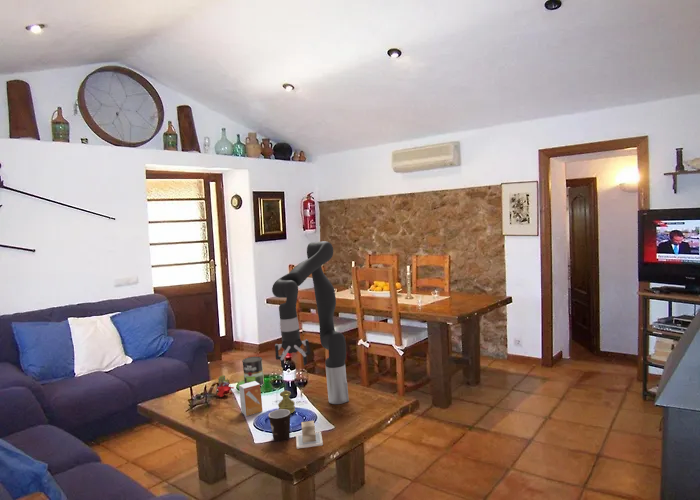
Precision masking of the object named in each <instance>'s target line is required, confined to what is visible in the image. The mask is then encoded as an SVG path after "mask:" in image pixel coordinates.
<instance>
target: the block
mask: <svg viewBox="0 0 700 500" xmlns="http://www.w3.org/2000/svg"><path fill="white" fill-rule="evenodd" d="M300 423H301V432H302V434H301V435H302V436H303V443H304V442H311V441H316V435H315V433H316V427H315V426H316V425H315V420H308V421H302V422H300Z"/></svg>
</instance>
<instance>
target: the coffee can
mask: <svg viewBox="0 0 700 500" xmlns="http://www.w3.org/2000/svg"><path fill="white" fill-rule="evenodd" d="M242 371H243V378H244V379H243V381H244V384H245V383H249V382H253V381H256V382H257V383H259V384H260V386H261V387H263V386H264V385H265V381H264V379H265V378H264V369H263V358H262V357H261V356H250V357H246V358H243V359H242ZM263 384H264V385H263ZM262 385H263V386H262Z"/></svg>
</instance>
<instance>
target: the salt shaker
mask: <svg viewBox="0 0 700 500" xmlns="http://www.w3.org/2000/svg"><path fill="white" fill-rule="evenodd" d="M291 394H292V393H291V391H289V390H283V391H281V392H280V393H279V396H280V397H282V399H281V400H280V401H279V402H278V403H277V406H278V410H280V409H286V410H289V411H290V414H291V413H293V412H294V411H295V412H296V406H295V404H296V403H295V401H294V400H292V399H291V398H290V396H291ZM295 412H294V413H295ZM294 413H293V414H294ZM291 415H292V414H291Z"/></svg>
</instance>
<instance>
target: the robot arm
mask: <svg viewBox="0 0 700 500" xmlns="http://www.w3.org/2000/svg"><path fill="white" fill-rule="evenodd" d="M333 247H334V246H333V245H332V243H331V242H329V241H325V240H324V241H323V240H322V241H314V242H309V243H308V245H307V247H306V255H307V256H306V257H307V259H305V260H303V261H302V262H300V263H297V264H296V265H295V266H294V267H293V268H292V269H291V270H290V271H289V272H288V273H287V274H285V275H282V276H281V277H280V278H278V279H277V280H276V281H274V282H273V284H272V288H271V292H272V295H273V296H274V297H276V298H286V301H285V302H284V303H280V304H279V307H278V314H279V327H280V335H281V343H279V344H278V343H275V344H274V351H275V352H274V353H275V360H279V361H280V366H281V368H283V370H284V369H286V365H285V364H286V363H285V357H286V356H287V355H288V354H293V353H295V354H297V352H299V353H300V354H301V355H302V360H303V365H304V366H306V365H307V364H308V359H307V358H308V357H307V356H308V355H311V348H310V343H309V339H307V338H305V340H302V339H301V334H300V324H299V319H298V314H297V313H298V312H297V303H298V302H297V301H298V295H299V286H301V285H303V283H304V282H305V281H306V280H307V279H308V277H310V276H311V278H312V283H313V291H314V298H315V304H316V309H317V315H318V323H319V324H318V325H319V326H318V327H319V340H320V345H321V346H322V347H323V348H324V349H325V350H327V351H328V357H327V358H326V359H325V361H324V363H325V364H324V365H325V374H326V375H325V376H326V388H327V389H326V390H327V396H328V397H327V398H328V399H327V400H328V403H329V404H332V405H340V404H341V405H342V404H345V403H348V402H349V401H350V400H349V389H348V388H349V387H348V381H347V372H346V371H347V370H346V358H347V344H346V342H347V341H346V337H345V335H344V334H343V333H342V332H340V331H337V330H336V328H335V325H334V313H335V310H336V305H337V300H336V299H337V298H336V292H335V287H334V285H333V284H332V282H331V281H330V280H329V278H328V277H327V276H326V274H325V273H324V271H323V268H322V266H323V265H324V264H326V263H327V262H329V261H330V260H331V259H332V258H333V255H334V248H333ZM302 345H303V346H305V347H306V351H305V350H304V349H303V347H302ZM281 348H282V349H283V351H282V353H281V355H280V354H279V350H281Z"/></svg>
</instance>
